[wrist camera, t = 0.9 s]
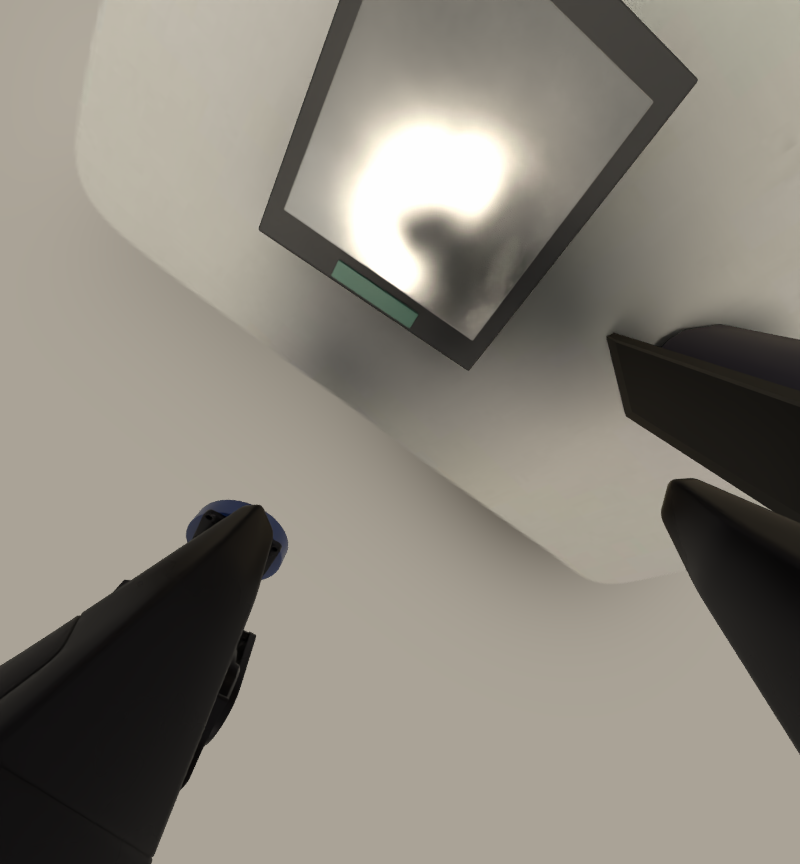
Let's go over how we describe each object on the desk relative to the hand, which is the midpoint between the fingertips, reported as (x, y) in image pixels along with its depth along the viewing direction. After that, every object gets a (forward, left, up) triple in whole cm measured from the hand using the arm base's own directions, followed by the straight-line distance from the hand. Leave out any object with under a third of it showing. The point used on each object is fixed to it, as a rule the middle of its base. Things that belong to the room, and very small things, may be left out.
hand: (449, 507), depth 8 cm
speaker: (+6, -12, -14) cm, 19 cm away
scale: (+6, +4, -14) cm, 16 cm away
